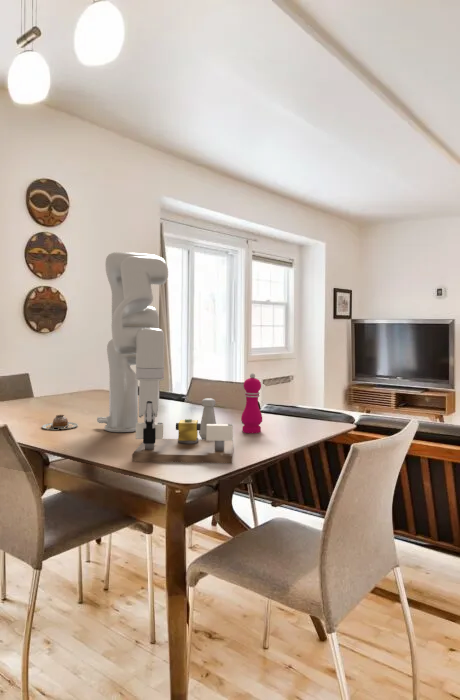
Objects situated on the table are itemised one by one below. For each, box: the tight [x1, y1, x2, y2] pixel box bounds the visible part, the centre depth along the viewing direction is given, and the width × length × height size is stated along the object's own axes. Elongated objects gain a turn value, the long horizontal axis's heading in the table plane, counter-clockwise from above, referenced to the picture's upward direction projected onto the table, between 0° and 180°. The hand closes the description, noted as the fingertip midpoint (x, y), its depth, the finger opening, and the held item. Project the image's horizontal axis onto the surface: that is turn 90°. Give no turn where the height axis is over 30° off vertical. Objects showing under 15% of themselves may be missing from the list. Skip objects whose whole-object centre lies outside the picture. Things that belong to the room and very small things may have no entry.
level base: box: [131, 418, 234, 464], centre depth 140 cm, size 26×19×9 cm
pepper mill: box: [241, 373, 263, 434], centre depth 171 cm, size 7×7×20 cm
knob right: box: [206, 423, 234, 451], centre depth 136 cm, size 7×3×7 cm, turn 89°
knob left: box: [135, 422, 164, 450], centre depth 136 cm, size 7×3×7 cm, turn 89°
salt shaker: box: [198, 397, 217, 440], centre depth 158 cm, size 6×6×13 cm
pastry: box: [41, 414, 79, 431], centre depth 174 cm, size 12×12×5 cm
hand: (149, 441), depth 136 cm, fingers closed on knob left, 2 cm apart
